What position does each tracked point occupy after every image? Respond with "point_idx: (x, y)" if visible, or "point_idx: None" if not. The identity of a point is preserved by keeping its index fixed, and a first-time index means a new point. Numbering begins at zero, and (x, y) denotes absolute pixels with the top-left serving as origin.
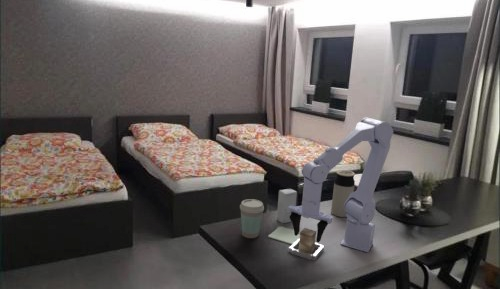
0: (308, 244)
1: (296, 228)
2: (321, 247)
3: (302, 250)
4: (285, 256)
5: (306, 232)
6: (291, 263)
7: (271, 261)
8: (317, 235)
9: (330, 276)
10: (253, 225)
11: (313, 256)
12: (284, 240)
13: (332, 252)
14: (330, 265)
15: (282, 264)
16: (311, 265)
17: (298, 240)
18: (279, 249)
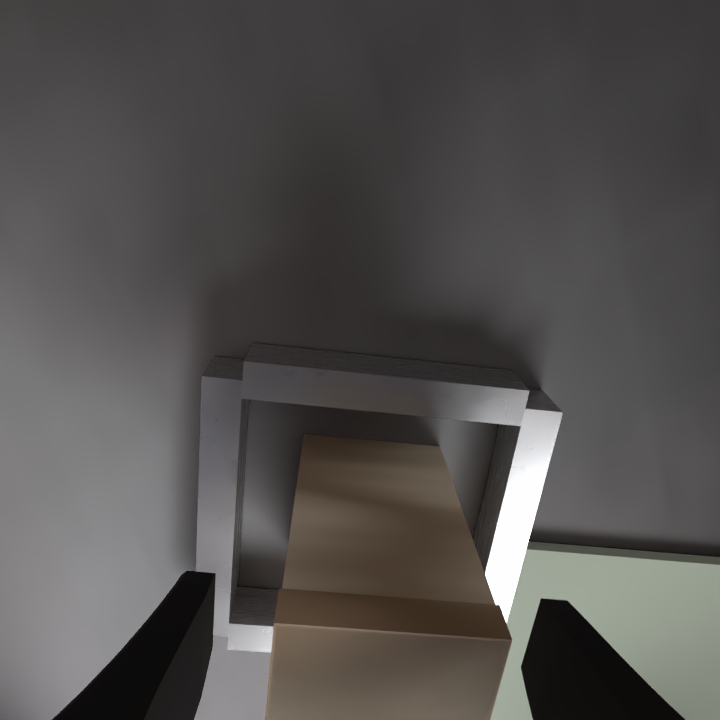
0: (328, 510)
1: (606, 708)
2: None
3: (396, 457)
4: (555, 276)
5: (400, 681)
6: (450, 149)
7: (704, 62)
8: (164, 659)
9: None
10: None
11: (229, 373)
12: (633, 572)
13: (112, 594)
14: (24, 341)
15: (552, 62)
16: (214, 230)
17: None
18: (651, 391)
